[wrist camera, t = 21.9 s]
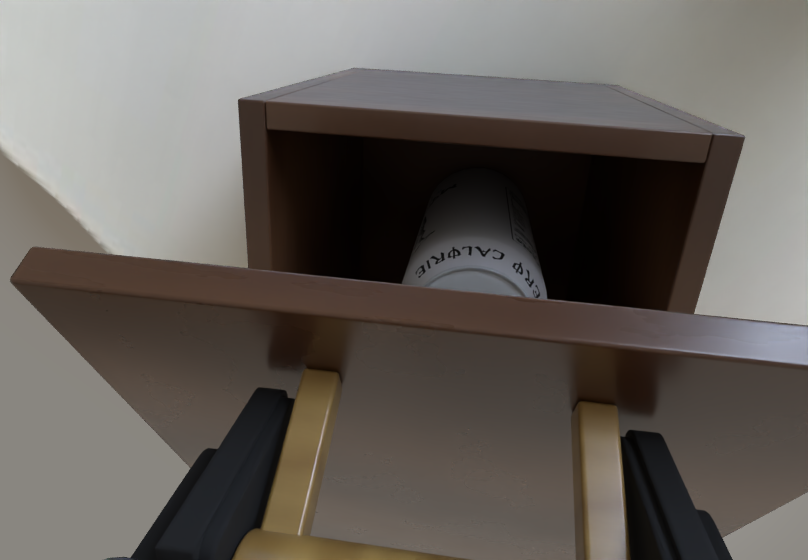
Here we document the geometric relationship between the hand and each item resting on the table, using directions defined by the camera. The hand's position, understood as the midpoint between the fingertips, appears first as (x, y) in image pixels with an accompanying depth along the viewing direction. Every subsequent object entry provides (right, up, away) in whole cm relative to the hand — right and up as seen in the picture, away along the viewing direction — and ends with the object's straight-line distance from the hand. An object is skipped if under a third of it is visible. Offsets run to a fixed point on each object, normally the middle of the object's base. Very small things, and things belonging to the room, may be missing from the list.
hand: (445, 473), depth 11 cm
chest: (+3, +7, +25) cm, 27 cm away
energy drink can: (+4, +8, +24) cm, 26 cm away
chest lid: (0, -2, +6) cm, 6 cm away
